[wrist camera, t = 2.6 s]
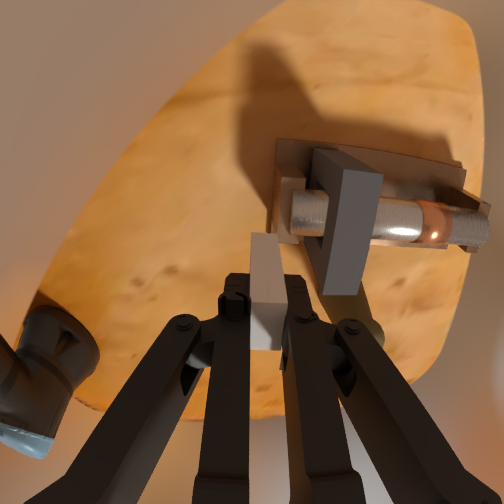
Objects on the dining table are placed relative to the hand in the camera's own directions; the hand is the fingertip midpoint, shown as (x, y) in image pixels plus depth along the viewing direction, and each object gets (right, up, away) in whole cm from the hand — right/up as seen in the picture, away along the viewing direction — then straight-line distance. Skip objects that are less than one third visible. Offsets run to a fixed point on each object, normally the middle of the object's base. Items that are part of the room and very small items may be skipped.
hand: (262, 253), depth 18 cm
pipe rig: (+14, +6, +13) cm, 20 cm away
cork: (+11, -5, +19) cm, 23 cm away
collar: (+7, +6, +12) cm, 15 cm away
